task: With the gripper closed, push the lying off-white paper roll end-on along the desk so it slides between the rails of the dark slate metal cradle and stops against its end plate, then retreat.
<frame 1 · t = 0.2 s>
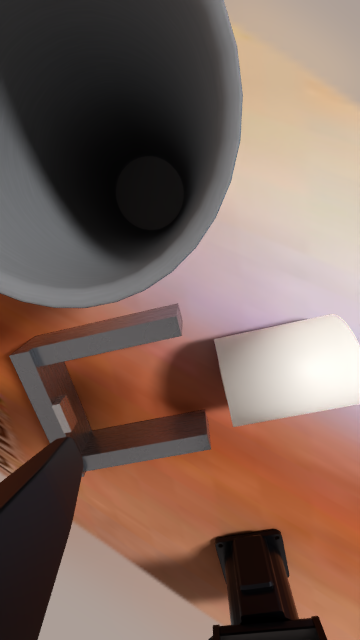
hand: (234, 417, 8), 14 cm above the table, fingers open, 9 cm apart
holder: (133, 379, 24), on the table
roll: (269, 351, 23), on the table
cup: (150, 195, 19), on the table
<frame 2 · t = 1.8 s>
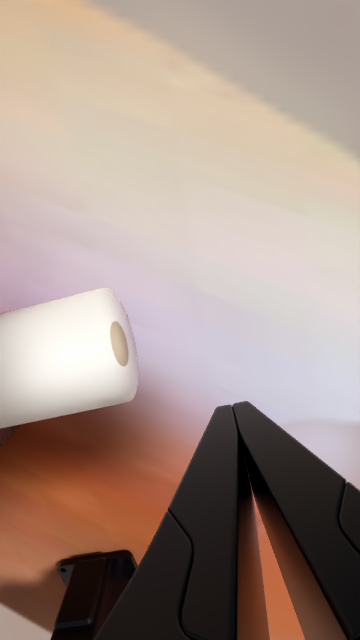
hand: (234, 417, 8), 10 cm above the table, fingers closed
roll: (70, 339, 19), on the table
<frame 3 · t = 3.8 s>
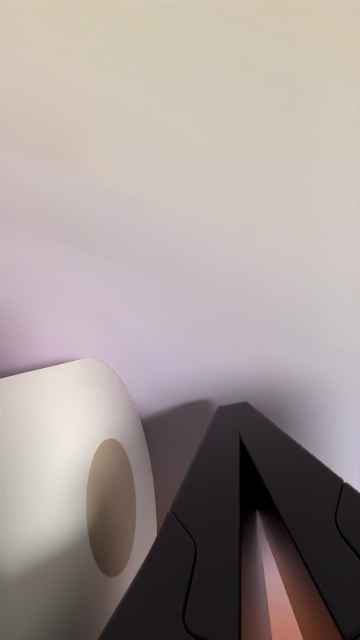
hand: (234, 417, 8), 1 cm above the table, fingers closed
roll: (18, 439, 9), on the table, touching gripper
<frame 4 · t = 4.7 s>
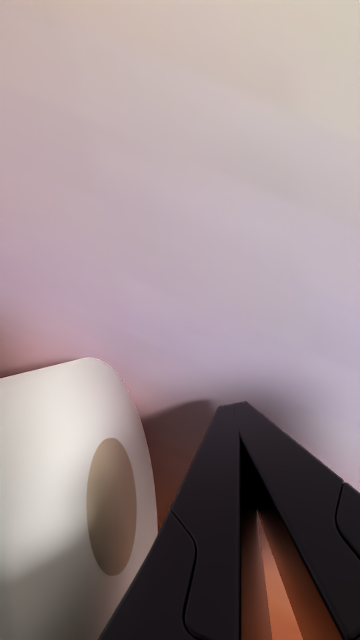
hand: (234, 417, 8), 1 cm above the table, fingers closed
roll: (19, 439, 9), on the table, touching gripper
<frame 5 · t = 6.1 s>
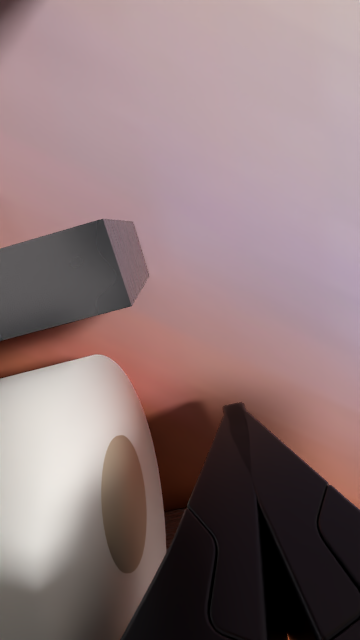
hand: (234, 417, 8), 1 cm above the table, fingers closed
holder: (34, 439, 9), on the table
roll: (22, 439, 9), on the table, touching gripper, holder
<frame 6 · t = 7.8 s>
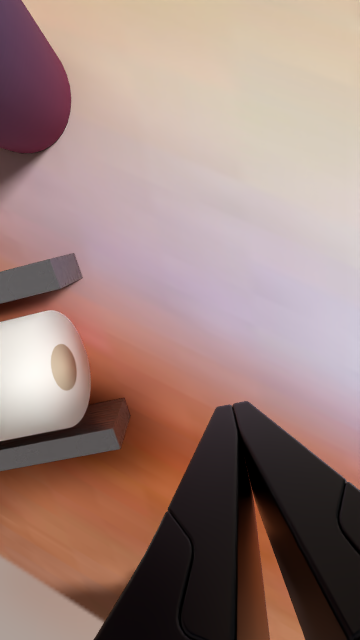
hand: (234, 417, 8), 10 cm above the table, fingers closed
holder: (28, 358, 18), on the table
roll: (23, 357, 18), on the table
cup: (21, 96, 14), on the table
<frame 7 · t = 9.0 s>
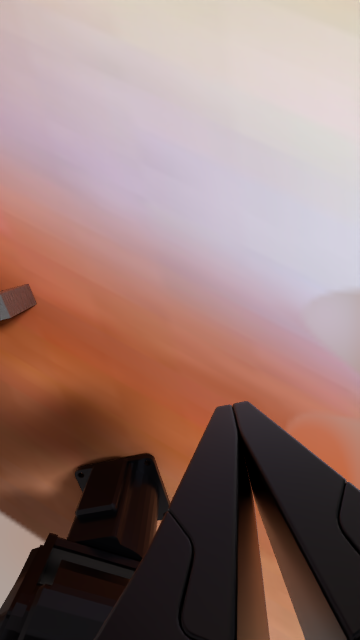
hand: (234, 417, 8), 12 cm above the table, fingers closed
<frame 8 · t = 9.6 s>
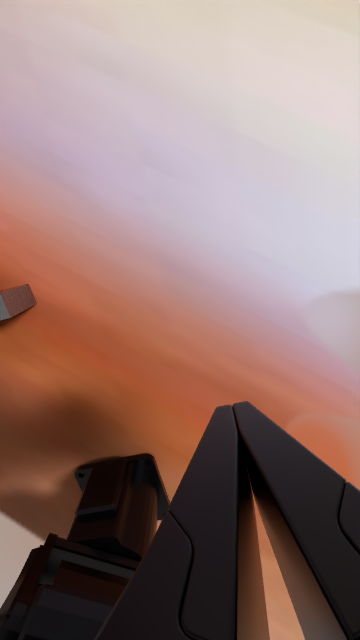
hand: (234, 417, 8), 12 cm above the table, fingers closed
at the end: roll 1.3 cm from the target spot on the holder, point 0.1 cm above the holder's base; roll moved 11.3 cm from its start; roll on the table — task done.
